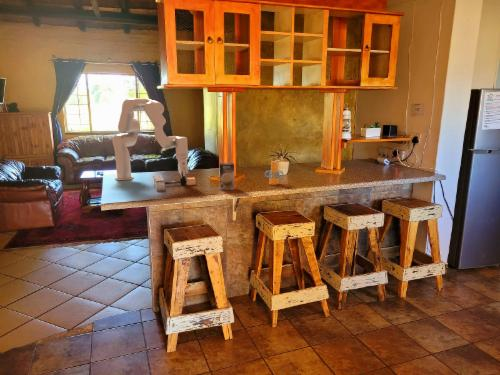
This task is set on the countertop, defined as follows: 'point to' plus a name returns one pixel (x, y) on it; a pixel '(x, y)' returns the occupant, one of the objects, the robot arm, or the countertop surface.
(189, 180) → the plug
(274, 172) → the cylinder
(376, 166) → the countertop surface
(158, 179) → the motor housing
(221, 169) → the coffee box
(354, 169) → the countertop surface
